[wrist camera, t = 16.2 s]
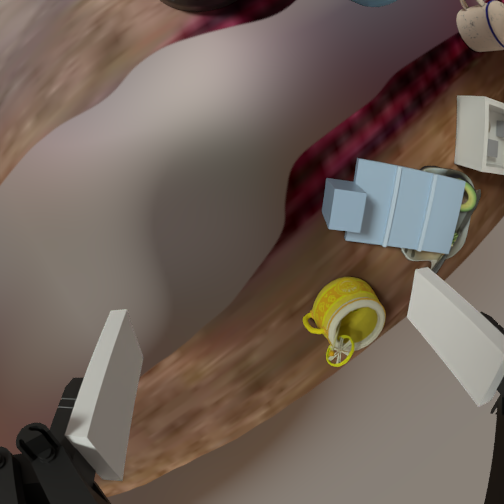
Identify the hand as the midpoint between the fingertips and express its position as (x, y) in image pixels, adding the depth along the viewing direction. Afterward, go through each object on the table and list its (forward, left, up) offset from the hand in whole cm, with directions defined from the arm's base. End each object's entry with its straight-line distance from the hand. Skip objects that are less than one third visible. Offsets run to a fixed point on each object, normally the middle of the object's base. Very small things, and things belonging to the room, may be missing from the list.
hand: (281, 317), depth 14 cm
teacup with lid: (-31, +41, -32) cm, 61 cm away
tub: (-10, +46, -32) cm, 57 cm away
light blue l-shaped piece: (+3, +24, -30) cm, 39 cm away
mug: (+20, +16, -32) cm, 41 cm away
